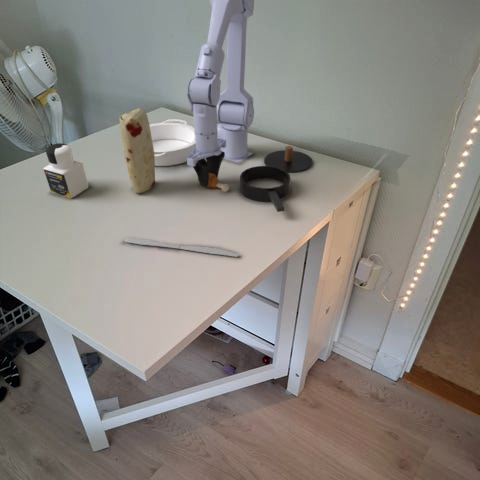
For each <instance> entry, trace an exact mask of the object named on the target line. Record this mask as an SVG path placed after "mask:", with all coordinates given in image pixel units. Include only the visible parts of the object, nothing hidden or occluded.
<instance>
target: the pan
mask: <svg viewBox="0 0 480 480" xmlns="http://www.w3.org/2000/svg"><path fill="white" fill-rule="evenodd" d="M264 179H265V180H273V181H277V182H279V183H281V184H282V185H279V186H275V187H257V186H254V185H253V186H252V185H251V184H248V183H249V182H251V181H254V180H264ZM291 179H292V178H291V175H290V173H287V172H286V171H285V170H283V169H281V168H277V167H272V166H266V165H258V166H252V167H248V168H247V169H245V170H243V171H242V172H241V174H240V175H239V192H240V194H241V195H242V196H243V197H244V198H246V199H247V200H250V201H254V202H258V203H272V201H271V199H270V197H269V195H268V191H274V190H275V191H276V193H277V195H278V197H279V198H280V200H281V199H284V198H286V197H287V196H288V195H289V193H290V191H291Z"/></svg>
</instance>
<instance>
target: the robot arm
mask: <svg viewBox="0 0 480 480" xmlns="http://www.w3.org/2000/svg"><path fill="white" fill-rule="evenodd" d="M209 4H210V5H209V6H210V8H211V13H210V14H211V15H210V21H209V27H208V35H207V42H206V43H204V44H203V45H202V46H201V47H200V51H199V55H198V60H197V64H196V69H195V73H194V77H193V78H191V79H190V80H189V81H188V83H187V84H188V85H187V93H186V95H187V100H188V102H189V106H190V111H191V112H192V116H193V127H194V130H195V143H196V148H195V149H194V150H193V152H192V153H191V155H190V156H189V157H187V162H186V165H187V166H189V167H192V168H193V169H194V171H195V174H196V176H197V180H198V179H199V181H198V183H199V182H200V183H199V185H200V186H202V185H203V186H202V187H205V186H208V181H209V173H212V174H215V175H216V177H217V178H218V177H219V172H220V168H221V165H222V162H223V160H224V159H226V160H229V161H233V162H236V163H241V162H242V161H244V160H245V159H247V158H248V157H249V156H251V155H252V154H254V152H252V151H249V150H248V128H250V127H251V126H252V124H253V122H254V118H255V117H254V116H255V108H254V97H253V96H252V95H251V94H250V93H249V92H248V91H247V90H246V89H245V76H246V75H245V74H246V73H245V71H246V50H247V49H246V47H247V27H248V18H250V17H252V16H253V15H254V9H255V0H209ZM226 36H227V37H226ZM225 40H226V53H225V51H224V50H223V46H224V43H225ZM225 57H226V83H225V84H226V85H225V90H223V91H221V84H222V80H221V74H222V70H223V65H224V61H225ZM218 179H219V178H218Z"/></svg>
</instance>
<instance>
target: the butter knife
mask: <svg viewBox="0 0 480 480" xmlns="http://www.w3.org/2000/svg"><path fill="white" fill-rule="evenodd" d="M123 240H124V242H126V243H129V244H135V245H140V246H141V245H142V246H148V247H159V248H160V247H161V248H170V249H178V250H185V251H186V250H187V251H192V252H199V253H205V254H214V255H221V256H228V257H235V258H238V257H240V254H239V253H235V252H232V251H229V250H225V249H222V248H218V247H207V246H198V245H197V246H196V245H181V244H173V243H164V242H160V241H155V240H150V239H144V238H137V237H125V238H124V239H123Z"/></svg>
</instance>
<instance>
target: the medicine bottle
mask: <svg viewBox="0 0 480 480" xmlns="http://www.w3.org/2000/svg"><path fill="white" fill-rule="evenodd" d="M45 154H46V157H47V160H48V163H49V164H48V165H45V166H44V167H43V172H44V175H45V178H46V182H47V184H48V186H49V190H50V192H51V194H55V195H57V196H61V197H63V198H68V199H70V200H71V199H73V198H74V197H77V195H79V194H81V193H83V192H84V191H86V190H87V189H88V188H89V182H88V179H87V175H86V172H85V167H84V164H83V162H81V161H77V160H75V159H74V155H73V151H72V148H71V146H70V145H68V144H66V143H62V142H60V143H58V142H57V143H53V144H51V145H49V146H47V147H46V148H45Z"/></svg>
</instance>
